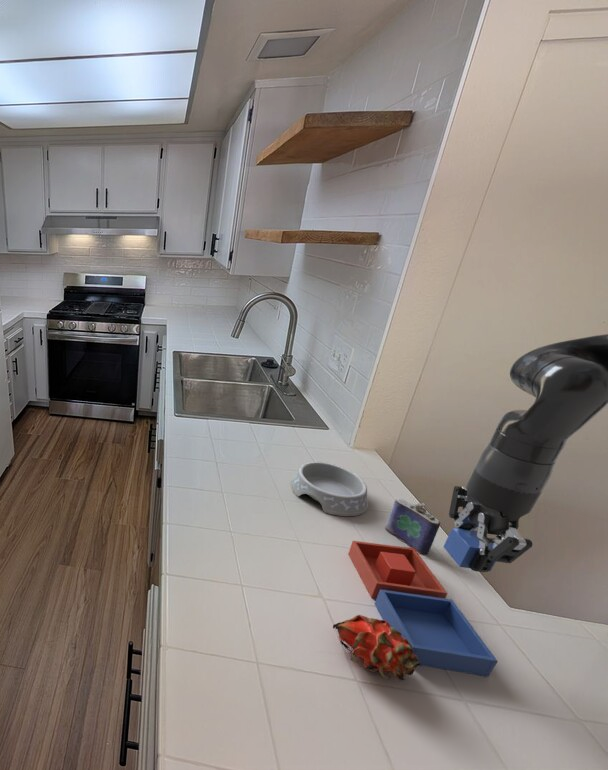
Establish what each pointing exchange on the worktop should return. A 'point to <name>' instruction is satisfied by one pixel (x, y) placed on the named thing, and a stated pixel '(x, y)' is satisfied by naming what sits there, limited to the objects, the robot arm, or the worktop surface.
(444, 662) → the blue bin
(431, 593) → the red bin
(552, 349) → the robot arm
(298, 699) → the worktop surface
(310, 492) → the dog bowl
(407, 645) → the dragon fruit
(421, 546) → the flask
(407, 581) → the red block
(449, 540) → the blue block
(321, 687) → the worktop surface
